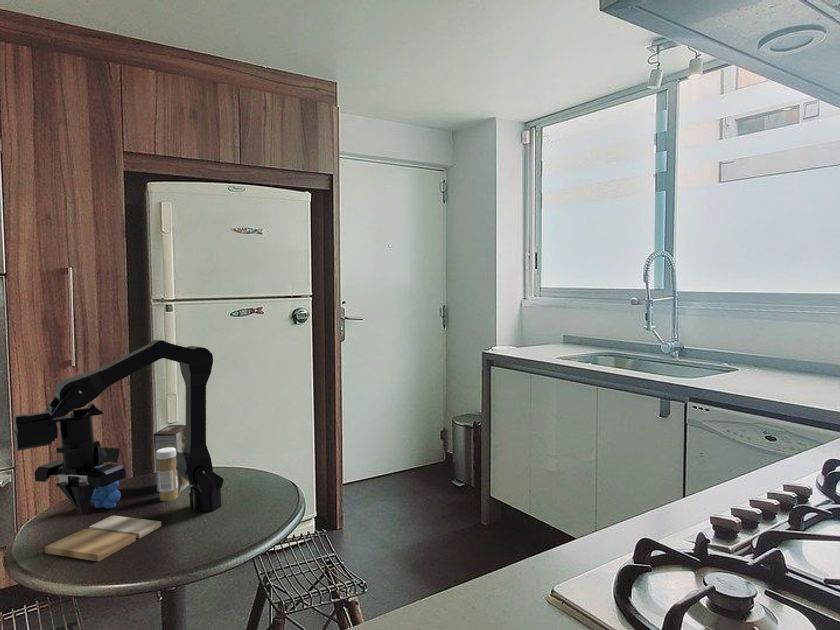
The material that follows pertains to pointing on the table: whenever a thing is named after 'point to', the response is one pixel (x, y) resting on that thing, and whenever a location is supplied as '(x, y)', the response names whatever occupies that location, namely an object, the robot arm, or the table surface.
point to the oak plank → (90, 544)
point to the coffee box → (171, 438)
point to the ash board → (126, 525)
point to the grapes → (106, 495)
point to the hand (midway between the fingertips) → (83, 513)
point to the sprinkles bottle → (167, 474)
